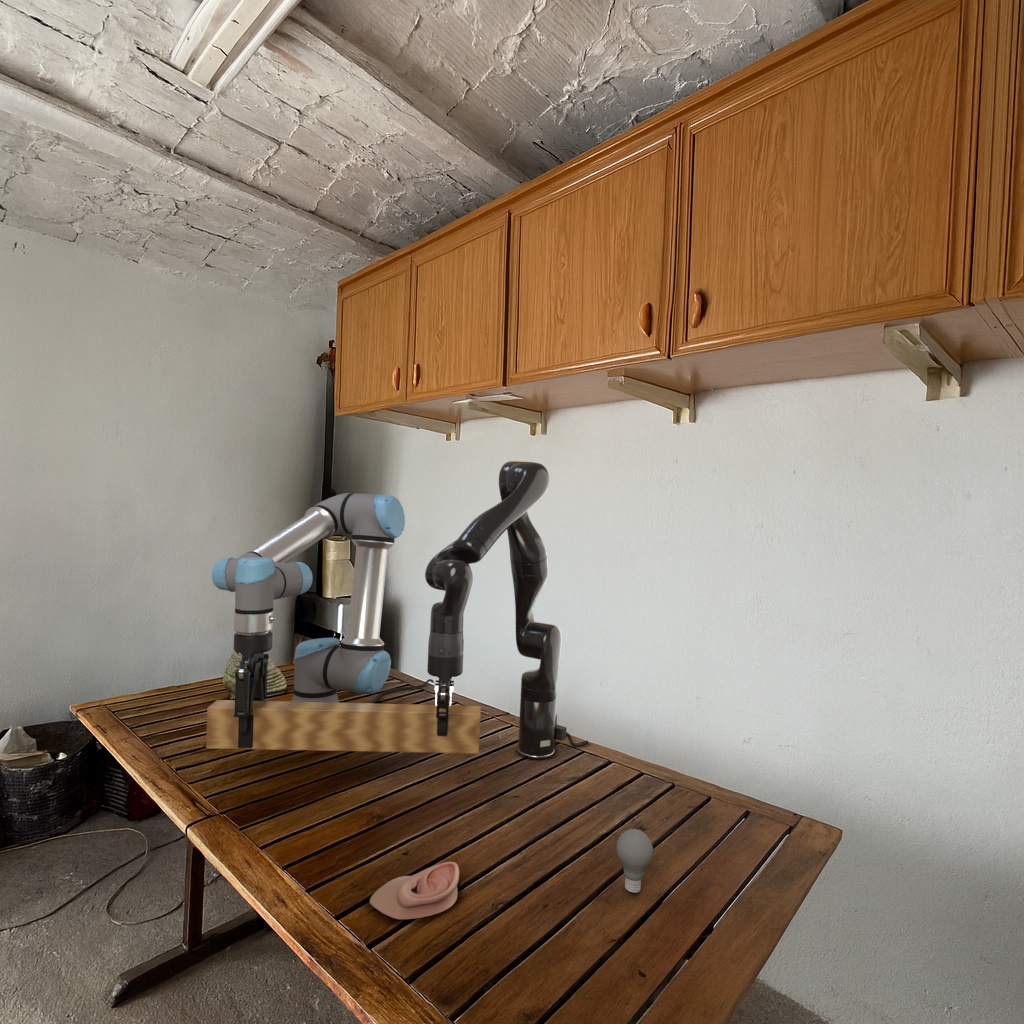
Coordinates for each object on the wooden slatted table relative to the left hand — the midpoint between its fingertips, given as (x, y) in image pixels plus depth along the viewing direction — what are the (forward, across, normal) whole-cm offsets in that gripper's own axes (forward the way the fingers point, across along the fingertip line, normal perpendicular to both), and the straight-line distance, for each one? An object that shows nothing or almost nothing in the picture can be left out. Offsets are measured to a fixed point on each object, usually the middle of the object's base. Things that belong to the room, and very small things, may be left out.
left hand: (250, 741), depth 133 cm
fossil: (+12, +66, +21) cm, 70 cm away
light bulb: (+11, -32, -74) cm, 81 cm away
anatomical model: (+11, -34, -38) cm, 53 cm away
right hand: (-3, 0, -40) cm, 40 cm away
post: (+1, 0, -20) cm, 20 cm away
